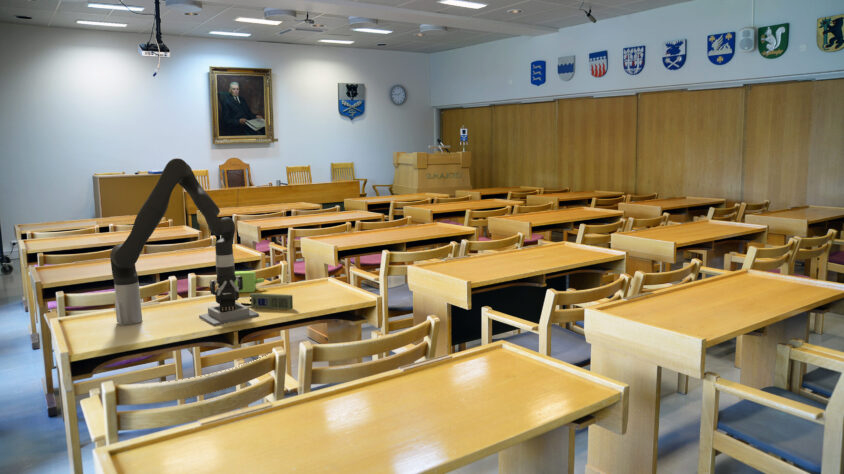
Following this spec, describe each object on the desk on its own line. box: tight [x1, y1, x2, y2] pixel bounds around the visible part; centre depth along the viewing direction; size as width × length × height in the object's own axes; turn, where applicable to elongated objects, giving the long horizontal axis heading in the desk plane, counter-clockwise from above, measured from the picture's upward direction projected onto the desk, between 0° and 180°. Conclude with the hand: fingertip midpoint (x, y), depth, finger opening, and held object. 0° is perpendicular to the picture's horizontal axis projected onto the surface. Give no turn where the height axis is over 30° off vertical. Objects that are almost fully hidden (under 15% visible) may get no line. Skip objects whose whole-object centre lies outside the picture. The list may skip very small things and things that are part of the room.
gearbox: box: [234, 270, 265, 293], centre depth 314 cm, size 18×10×10 cm, turn 98°
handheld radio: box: [240, 292, 294, 310], centre depth 283 cm, size 7×3×25 cm
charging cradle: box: [198, 301, 260, 327], centre depth 270 cm, size 20×16×4 cm
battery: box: [218, 286, 237, 312], centre depth 269 cm, size 7×4×11 cm, turn 107°
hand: (227, 301), depth 269 cm, fingers closed on battery, 7 cm apart
